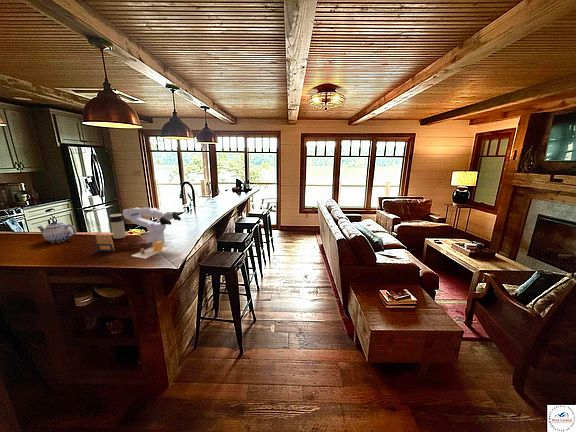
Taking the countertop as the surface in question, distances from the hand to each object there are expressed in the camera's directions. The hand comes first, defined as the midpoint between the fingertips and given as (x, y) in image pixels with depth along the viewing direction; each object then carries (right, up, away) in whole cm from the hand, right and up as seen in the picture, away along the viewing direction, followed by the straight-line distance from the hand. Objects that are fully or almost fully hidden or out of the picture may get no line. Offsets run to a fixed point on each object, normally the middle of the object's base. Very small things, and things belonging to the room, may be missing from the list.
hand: (175, 221), depth 153 cm
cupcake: (-11, -19, -2) cm, 22 cm away
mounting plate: (-14, -21, -5) cm, 26 cm away
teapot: (-96, -15, +17) cm, 99 cm away
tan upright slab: (-46, -20, -1) cm, 50 cm away
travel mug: (-56, -13, +25) cm, 63 cm away
